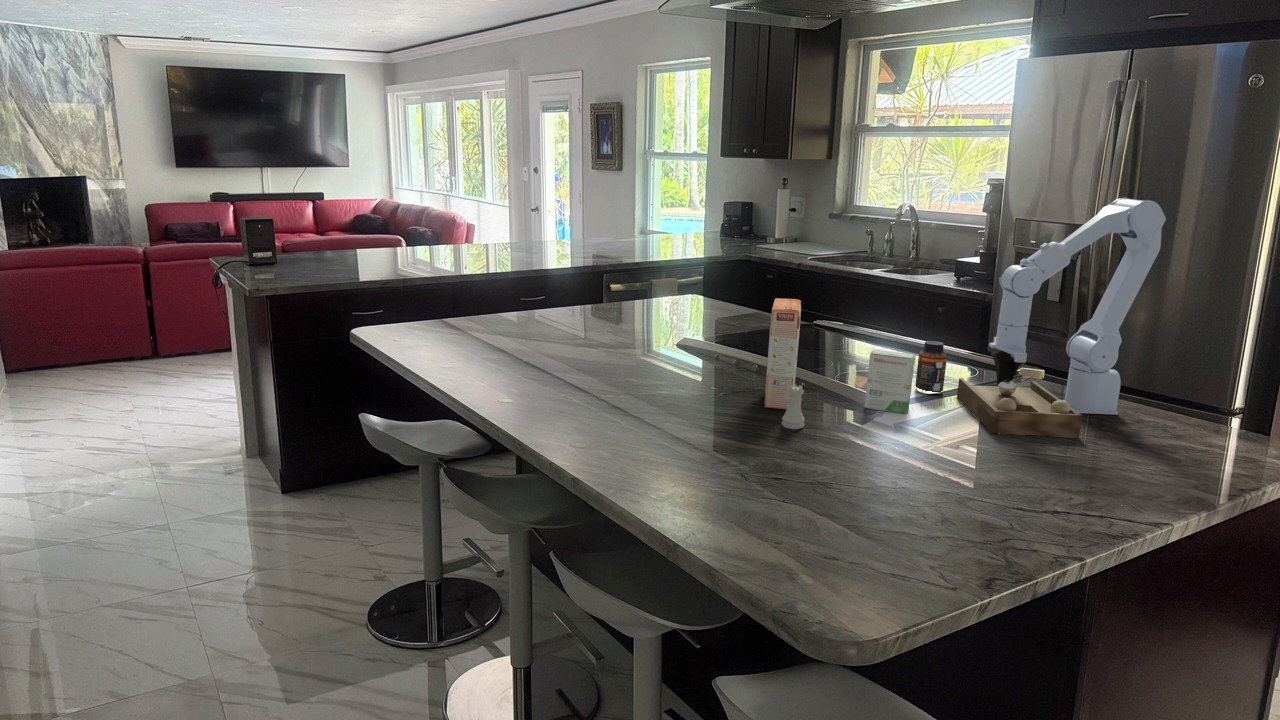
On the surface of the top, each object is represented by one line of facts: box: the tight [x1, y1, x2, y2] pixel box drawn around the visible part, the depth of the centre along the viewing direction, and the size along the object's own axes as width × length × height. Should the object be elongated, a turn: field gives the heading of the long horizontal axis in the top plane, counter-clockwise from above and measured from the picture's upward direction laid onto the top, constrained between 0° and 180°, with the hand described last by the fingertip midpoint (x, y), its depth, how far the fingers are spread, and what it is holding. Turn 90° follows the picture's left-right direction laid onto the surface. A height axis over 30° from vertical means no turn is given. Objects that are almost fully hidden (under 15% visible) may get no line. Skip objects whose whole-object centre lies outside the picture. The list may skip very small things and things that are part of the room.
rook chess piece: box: [781, 384, 805, 430], centre depth 164 cm, size 4×4×8 cm
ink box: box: [864, 349, 916, 415], centre depth 177 cm, size 9×5×12 cm, turn 65°
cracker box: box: [764, 297, 802, 411], centre depth 179 cm, size 14×6×21 cm, turn 168°
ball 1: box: [997, 398, 1016, 411], centre depth 165 cm, size 3×3×3 cm
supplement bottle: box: [914, 340, 948, 392], centre depth 190 cm, size 6×6×11 cm
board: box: [956, 377, 1083, 439], centre depth 174 cm, size 16×24×4 cm, turn 176°
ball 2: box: [1050, 399, 1070, 414], centre depth 164 cm, size 3×3×3 cm
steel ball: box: [997, 380, 1017, 396], centre depth 179 cm, size 3×3×3 cm
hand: (1003, 387), depth 180 cm, fingers closed, pressing on steel ball
